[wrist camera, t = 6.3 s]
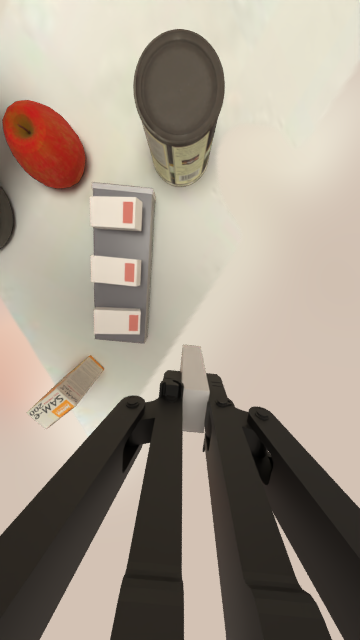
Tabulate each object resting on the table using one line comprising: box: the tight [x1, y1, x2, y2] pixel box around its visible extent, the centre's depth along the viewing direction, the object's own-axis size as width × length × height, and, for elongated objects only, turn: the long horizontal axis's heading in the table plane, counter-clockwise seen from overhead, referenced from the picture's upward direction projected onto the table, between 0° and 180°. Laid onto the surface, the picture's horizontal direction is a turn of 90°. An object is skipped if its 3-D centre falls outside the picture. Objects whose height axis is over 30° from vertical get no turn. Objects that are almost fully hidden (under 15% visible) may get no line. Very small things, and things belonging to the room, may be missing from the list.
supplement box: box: [27, 356, 104, 429], centre depth 42 cm, size 8×5×13 cm, turn 130°
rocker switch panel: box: [92, 182, 156, 343], centre depth 39 cm, size 10×28×5 cm, turn 175°
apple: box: [2, 100, 85, 188], centre depth 32 cm, size 10×10×10 cm
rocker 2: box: [91, 255, 141, 286], centre depth 36 cm, size 8×4×3 cm, turn 85°
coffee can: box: [134, 29, 225, 187], centre depth 30 cm, size 10×10×14 cm
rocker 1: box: [90, 196, 143, 231], centre depth 33 cm, size 8×4×3 cm, turn 85°
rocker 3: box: [94, 307, 141, 334], centre depth 38 cm, size 8×4×3 cm, turn 85°
